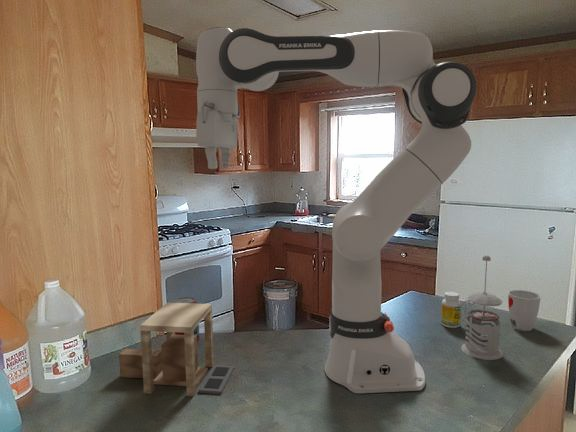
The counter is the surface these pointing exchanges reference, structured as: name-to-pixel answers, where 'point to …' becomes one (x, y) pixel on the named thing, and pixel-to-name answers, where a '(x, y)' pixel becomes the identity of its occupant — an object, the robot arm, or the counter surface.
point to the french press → (477, 344)
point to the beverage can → (188, 300)
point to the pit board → (216, 379)
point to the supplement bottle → (451, 310)
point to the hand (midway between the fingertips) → (219, 168)
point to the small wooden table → (172, 321)
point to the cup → (523, 309)
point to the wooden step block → (162, 363)
